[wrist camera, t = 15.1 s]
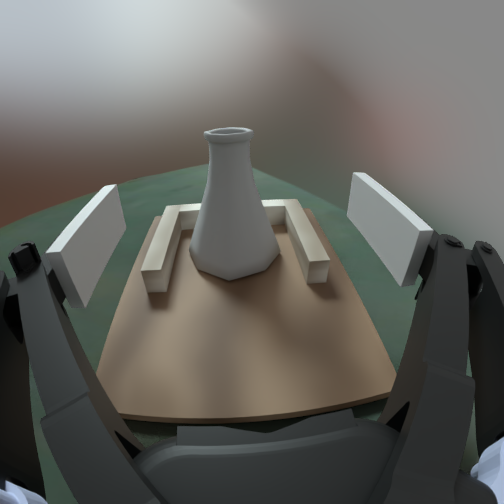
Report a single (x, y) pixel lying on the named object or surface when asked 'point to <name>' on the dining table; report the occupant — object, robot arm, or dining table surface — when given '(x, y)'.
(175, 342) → the nook board
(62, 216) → the dining table surface
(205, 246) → the flask
